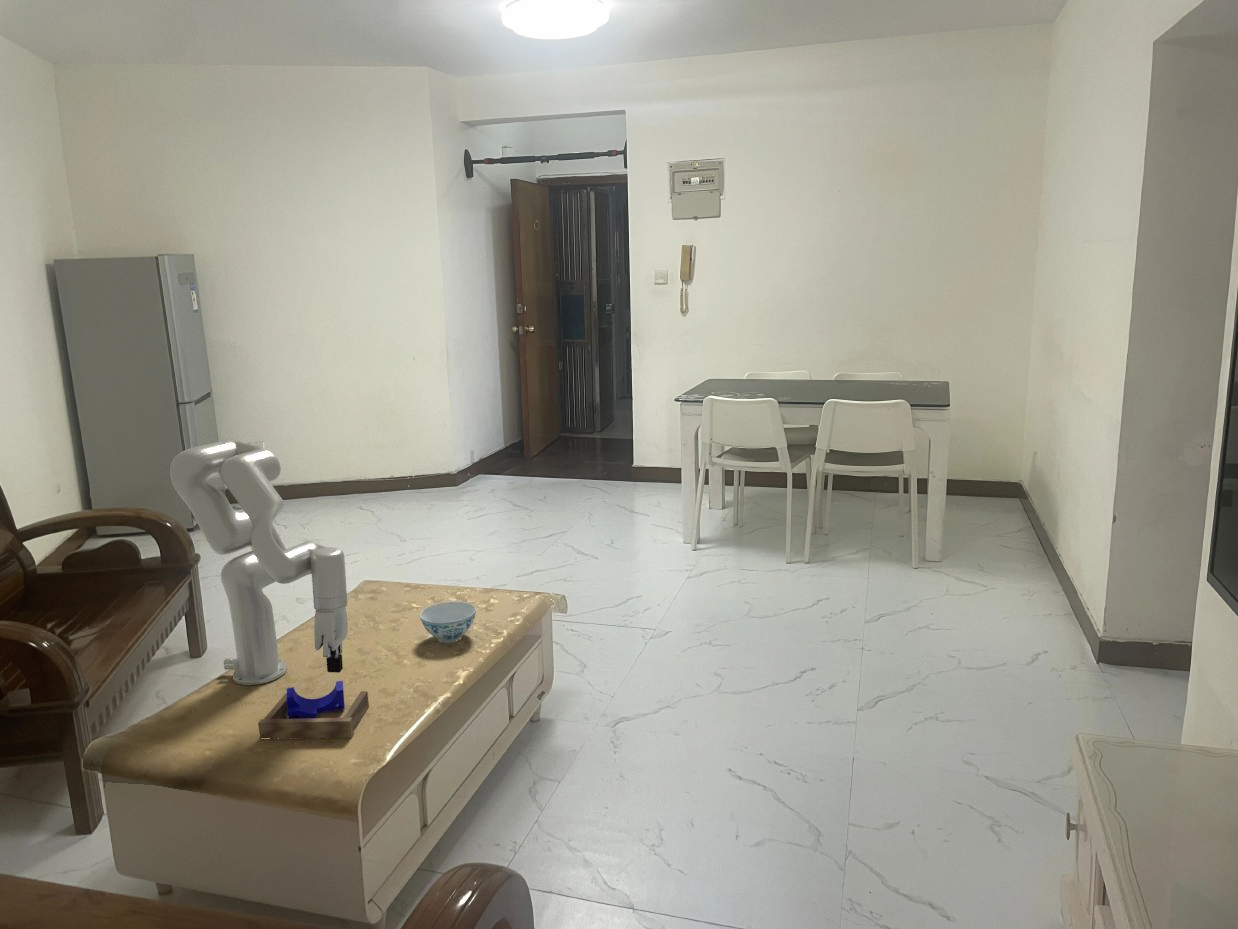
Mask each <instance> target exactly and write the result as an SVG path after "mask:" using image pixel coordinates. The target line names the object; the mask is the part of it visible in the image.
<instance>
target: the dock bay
mask: <svg viewBox="0 0 1238 929" xmlns="http://www.w3.org/2000/svg"><path fill="white" fill-rule="evenodd" d="M369 703H370V702H369V694H368V690H364V691H363V690H362V691H360V692H359V694H357V696H356V697H355V699H354V701H353V702H352V703H351V705H350V706H349V709H348V710H347V712H346V713H345V714H344V716H343V717H320V718H319V717H317V718H305V719H288V705H287V692H285V693H284V694H283V696H281V698H280V699H279V701H278V702H277V703H276V704H275V705H274V706H273V708H271V709H270V710H269V712H268V714H266V716H264V718H261V719H260V720H259V721H258V723H257V725H258V731H259V739H260V738H270V739H272V740H291V739H290V738H293V739H292V740H295V739H294V738H326V739H353V737H354V735H355V730H356V729H357V727H358V725H359V723H361V721H362V720H363V718H364V716H365V714H366V713H367V711H368V710H369V708H370V704H369ZM278 738H279V739H278Z"/></svg>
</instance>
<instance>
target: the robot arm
mask: <svg viewBox="0 0 1238 929" xmlns="http://www.w3.org/2000/svg"><path fill="white" fill-rule="evenodd" d="M169 466H170V467H169V468H170V469H169V477H170V480H171V485H172V486H173V488H174V490H175V492H176V493H177V495H178V496H179V497H180V498H181V499H182V501H183V502H184V503H185V504H186V506H187V507H188V509H189V510H190V512H191V514H192V515H193V518H194V520H195V521H196V523H197V525H198V527H199V529H200V531H201V532H202V534H203V536H204V538H205V539H206V542H207V543H208V545H209V547H210V548H211V549H212V551H214V552H215V553H216V554H218V555H222V556H223V555H224V556H225V555H230V554H233V553H235V552H238V551H241V550H244V549H246V548H249V547H250V548H251V550H250V551H248V552H245V553H243V554H240V555H238V556H236V557H233V558H232V559H230V560H228V562H226V563H225V565H224V566H222V569H221V572H220V580H221V584H222V587H223V589H224V591H225V595H226V597H227V601H228V605H229V610H230V611H229V612H230V617H231V618H230V619H231V624H232V631H233V638H234V644H235V652H236V658H224V659H223V669H224V670H226V671H227V670H233V671H234V672H233V674H232V679H233V681H234V683H236V684H238V685H241V684H242V686H257V685H261V684H262V685H263V684H266V683H269V682H272V681H274V680H277V679H279V678H281V677H282V676H283V675H284V674H285V673H286V672H287V670H288V667H287V663H286V662H284V661H283V660H280V657H279V648H278V640H277V634H276V626H275V625H276V624H275V618H274V610H273V605H272V603H271V600H270V598H269V597H267V595H266V594H265V592H264V591H263V589H264V588H266V587H268V586H269V585H272V584H274V583H279V584H281V585H284V584H285V585H287V584H291V583H293V582H296V581H298V580H300V579H301V578H304V577H306V576H310V575H311V584H312V597H313V598H312V599H313V609H314V610H315V613H314V624H313V625H314V629H313V630H314V649H315V651H320V649H321V648H322V657H323V658H325V660H326V669H327V673H339V674H340V673H341V672H342V670H343V668H344V667H343V654H342V653H343V641H344V640H345V639H346V638H347V635H348V633H349V632H348V628H349V627H348V624H349V623H348V615H347V606H348V593H347V592H348V591H347V578H346V574H347V573H346V560H345V553H344V551H343V550H342V549H340V548H339V547H333V546H332V547H331V546H326V545H323V544H322V543H319V542H317V541H314V540H306V541H303V542H302V543H299V544H297V545H293V546H291V547H288V548H287V547H285V544H284V542H283V540H282V538H281V537H280V534H278V531H277V528H276V527H275V526H274V524H273V522H274V520H275V518H276V517H277V516H278V515H280V514H281V512H282V510H283V509H284V507H285V502H284V499H282V497H281V496H280V494H279V493H278V491H277V490H276V489H275V487H274V486H273V484H272V483H271V482H273V481H275V480H277V479H278V477H279V476H280V474H281V463H280V461H279V459H278V457H277V456H276V454H274V453H273V452H272V451H270V450H268V449H266V448H264V447H260V446H257V445H254V444H250V443H247V442H244V441H240V440H235V439H227V440H220V441H216V442H211V443H207V444H202V445H198V446H193V447H190V448H188V449H185V450H183V451H180V453H178V454H176V455H175V456H174V457H173V459H172V461H171V463H170V465H169ZM217 478H220V479H221V480H222V482H223V483H224V485H225V486H226V487H227V489H228V490H229V492H230V493H231V495H232V496H233V497H234V499H235V500H236V502H237V503H238V505H240V507H241V509H238V510H235V509H234V508H233V507H232V505H231V504H230V501H229V499H228V497H227V496H226V495H225V493H224V492H223V491H221V490H220V489H219V488H218V487H217V486H214V485H212V484H211V483H210V482H209V481H210V480H212V479H217Z"/></svg>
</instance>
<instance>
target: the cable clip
mask: <svg viewBox="0 0 1238 929" xmlns="http://www.w3.org/2000/svg"><path fill="white" fill-rule="evenodd" d="M344 691H345V690H344V681H343V680H337V681H335V685H334V687H333V689H332V690H331V692H330V693H328V694H326V695H325V696H322V697H318V698H307V697H303V696H302V695H299V694H298V693H297V692H296V690H295V687H294V686H292V687H286V693H287V705H288V717H287V719H305V718H318V714H320V713H326V712H333V711H334V712H335V711H342V710H345V708H346V707H345V696H344V695H345V694H344Z"/></svg>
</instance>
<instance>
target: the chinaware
mask: <svg viewBox="0 0 1238 929" xmlns="http://www.w3.org/2000/svg"><path fill="white" fill-rule="evenodd" d="M476 613H477V608H476V607H475V605H474V604H472V603H470V602H466V601H459V600H458V601H457V600H456V601H446V602H445V601H444V602H440V603H438V602H437V603H436V604H431V605H430V606H427V607H425V608H424V609H422V610H421V611H420V613H419V617H420V621H421V623H422V626H423V627H424V629H425V630H426V632H428V633H429V635H431V636H432V637H434V638H436V639H437V641H438V642H439V643H442V642H443V644H451V642H452V643H455V642H454V641H456V640H459V639H460V638H462V639H463V637H462V636H464V635H465V634H466V633H468V631H469V630H470V629H471V627H472V625H473V623H474V621H475V618H476ZM460 640H461V639H460ZM460 640H459V641H460ZM456 642H457V641H456Z"/></svg>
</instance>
